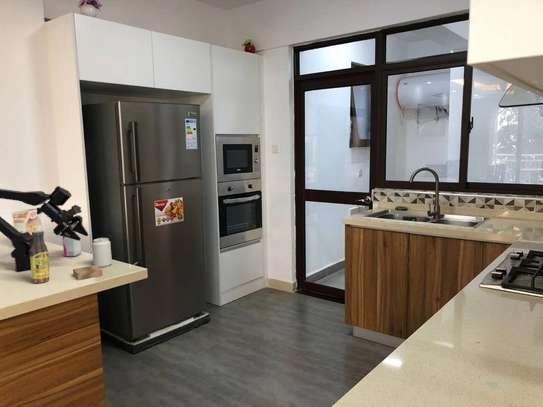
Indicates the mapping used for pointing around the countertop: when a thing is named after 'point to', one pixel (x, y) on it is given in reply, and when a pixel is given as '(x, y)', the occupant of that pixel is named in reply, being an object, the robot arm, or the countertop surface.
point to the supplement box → (71, 247)
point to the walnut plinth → (87, 272)
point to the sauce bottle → (39, 258)
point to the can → (102, 252)
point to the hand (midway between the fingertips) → (84, 237)
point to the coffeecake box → (27, 221)
